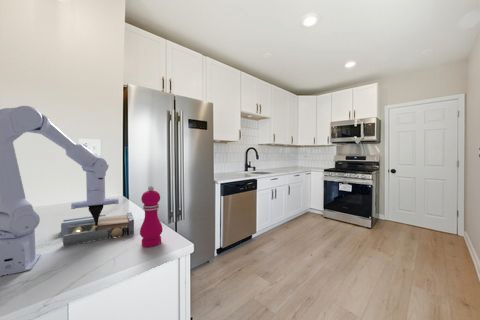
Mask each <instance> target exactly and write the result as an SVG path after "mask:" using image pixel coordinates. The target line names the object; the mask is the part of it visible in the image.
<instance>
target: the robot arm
mask: <svg viewBox="0 0 480 320" xmlns="http://www.w3.org/2000/svg"><path fill="white" fill-rule="evenodd" d="M25 133H32V134H33V133H34V134H40V135H42V136H43V137H45V139H46V138H47V139H48V140H49V141H51V142H53V143H54V144H56V145H57V146H58V147H61V148H62V149H63V150H65V155H66V156H67V157H68V158H70V159H71V160H73V161H74V162H75V163H77V164H78V165H80V166H81V169H82V171H83V172H85V173H86V174H85V177H86V179H85V180H86V200H83V201H76V202H71V206H70V209H71V210H75V209H81V208H88V212H89V213H90V215H91V216H93V218H94V221H95V226H98V219H99V216H100V215H101V213H102V211H103V209H104V206H110V205H119V204H120V203H119V198H106V173H107V170H108V169H109V164H108V163H107V161H106V160H105V158H103V157H98V155H97V153H94V152H92V151H91V150H90V149H88V146H87V145H86V144H85V143H84V144H82V143H80V142H74V141H73V140H72V139H71V138H70V137H69V136H67V135H66V134H65V133H63V131H61V129H59V128H58V127H57V126H55V125H54V124H53V123H52V122H51V121H50V118H48V117H47V116H46V115H44V114H43V113H41V112H40V111H39V109H37V108H35V107H32V106H29V105H21V106H16V107H5V108H1V109H0V277H2V275H4V276H7V274H8V275H12V274H17V273H21V272H25V271H29V270H32V268H33V267H34V266H35V264H36V262H38V260H39V258H40V257H41V255H42V254H41V253H37V254H36V231H35V230H36V228H37V227H38V225H39V224H40V221H41V220H40V216H39V214H38V213H37V212H36V211H35V209H34V207H33V205H32V203H31V202H30V201H29V200H28V199H27V198H26V193H25V190H24V184H23V179H22V176H21V173H20V172H21V171H20V168H19V163H18V158H17V154H16V150H15V146H14V141H16V140H17V139H18V138H20V137H21V136H22V135H24V134H25ZM33 265H34V266H33Z"/></svg>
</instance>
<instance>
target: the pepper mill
mask: <svg viewBox="0 0 480 320" xmlns="http://www.w3.org/2000/svg"><path fill="white" fill-rule="evenodd" d="M147 189H148V190H147V191H145V192H143V193H142V195H141V199H140V200H141V202H142V204H143V205H142V206H143V211H144V219H143V222H142V224H141V225H140V226H141V227H140V229H139V235H140V237H141V238H142V239H141V246H142V247H144V248H152V247H156V246H158V245H160V244H161V243H162V236H161V235H162V233H163V225H162V222H161V221H160V219H159V216H158V209H159V208H160V205H159V202H160V201H161V194H160V193H159V192H158V191H157V190H154V186H152V185H150V186H148V188H147Z"/></svg>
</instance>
